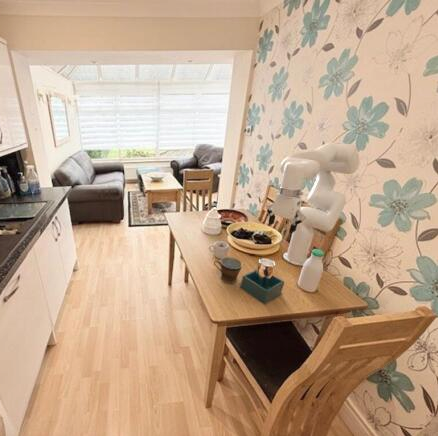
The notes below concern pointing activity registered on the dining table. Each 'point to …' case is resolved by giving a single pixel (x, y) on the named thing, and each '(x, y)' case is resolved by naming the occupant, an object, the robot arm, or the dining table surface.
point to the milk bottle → (311, 271)
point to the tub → (257, 290)
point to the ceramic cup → (229, 269)
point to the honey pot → (212, 222)
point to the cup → (219, 249)
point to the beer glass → (264, 272)
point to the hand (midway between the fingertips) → (281, 228)
